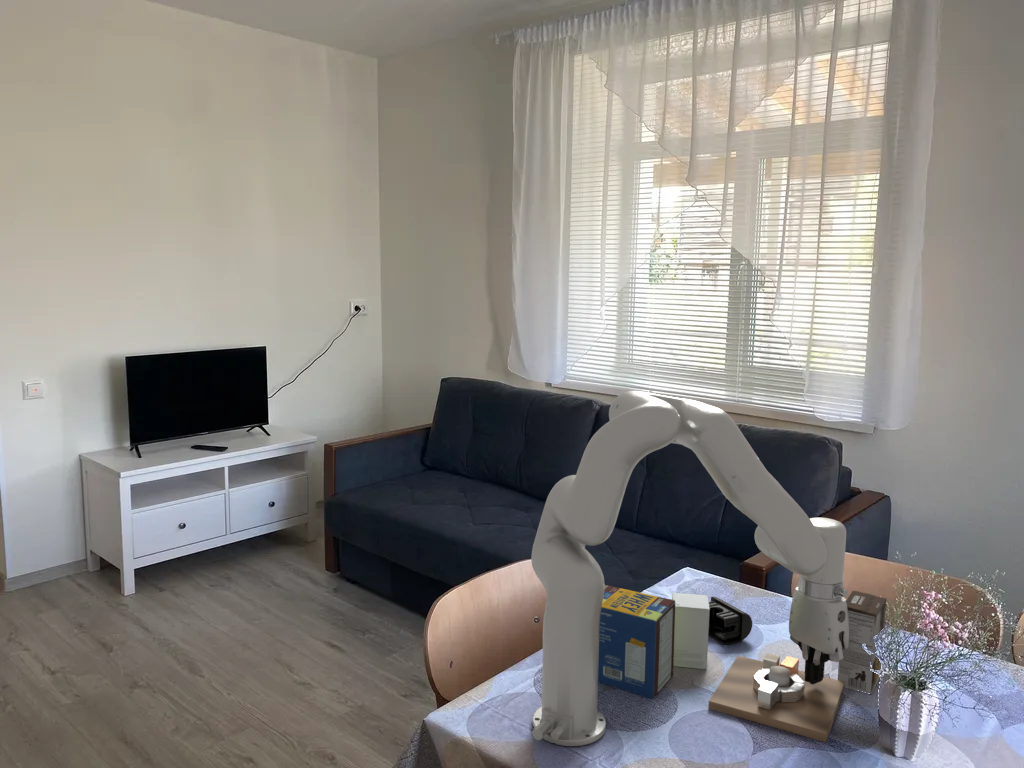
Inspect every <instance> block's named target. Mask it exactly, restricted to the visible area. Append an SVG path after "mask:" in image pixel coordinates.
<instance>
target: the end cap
mask: <svg viewBox="0 0 1024 768" xmlns="http://www.w3.org/2000/svg"><path fill="white" fill-rule="evenodd" d="M709 608H710V611H709V631H708V638H710V639H712V640H714V641H715V642H717V643H719V644H720V645H722V646H723V647H728V646H733V645H736V644H740V643H742V642H743V641H744V640H745V639H747V637H749V635H750V634H751V631H752V629H753V620H752V617H751V616H750V615H749V614H748V613H747V612H744V611H743V610H741V609H739V608H737V607H735V606H734V605H732V604H730V603H728V602H727V601H726V600H723V599H721V598H719V597H717V596H710V601H709Z"/></svg>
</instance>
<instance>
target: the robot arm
mask: <svg viewBox="0 0 1024 768" xmlns="http://www.w3.org/2000/svg"><path fill="white" fill-rule="evenodd" d="M608 419H609V421H608V422H606V423H605V424H603V425H602V426H601V427H600V428H599V429H598V430H597V431H596V432H595V433H594V434H593V435H592V437H591V438H590V440H589V441H588V443H587V444H586V447H585V449H584V451H583V455H582V457H581V459H580V462H579V465H578V468H577V471H576V474H571V475H567V476H565V477H563V478H561V479H560V480H559V481H558V482H556V483H555V484H554V486H553V487H552V489H551V490H550V492H548V495H547V498H546V500H545V504H544V507H543V510H542V513H541V516H540V521H539V524H538V528H537V532H536V534H535V537H534V540H533V541H534V542H533V543H532V544H533V545H532V549H531V550H532V551H531V557H530V559H531V566H532V569H533V571H534V573H535V575H536V578H538V580H539V581H540V583H541V584H542V586H543V587H544V589H545V592H546V601H545V602H546V603H545V608H544V612H543V613H544V614H543V622H542V669H541V671H542V673H541V674H542V676H541V677H542V678H541V681H542V682H541V690H542V691H541V706H539V708H537V709H536V711H534V713H533V715H532V727H533V726H534V728H533V730H532V736H533V738H534V739H535V740H537V741H541V740H542V739H543V740H544V741H547V742H549V743H551V744H554V743H555V745H557V746H558V745H559V746H563V747H580V746H585V745H590V744H592V743H595V742H597V741H598V740H599V739H601V738H602V737H603V735H604V734H605V732H606V729H607V728H606V727H607V719H606V717H605V715H604V714H603V713H602V712H601V710H599V709H598V698H599V697H598V695H599V694H598V693H599V690H598V689H599V683H598V662H599V624H600V613H601V607H602V602H603V596H604V588H605V585H606V584H605V576H604V574H603V571H602V568H601V566H600V565H599V563H598V561H596V558H595V557H594V556H593V555H592V554H591V553H590V552H589V551H588V550H587V549H586V546H598V545H601V544H603V543H605V542H606V541H607V540H608V539H609V538H610V537H611V534H613V531H614V530H615V529H614V528H615V525H616V523H617V520H618V516H619V512H620V509H621V506H622V503H623V499H624V495H625V492H626V489H627V486H628V483H629V481H630V478H631V475H632V473H633V470H634V469H635V467H636V465H637V464H638V463H639V462H640V461H642V459H644V458H645V457H646V456H647V455H649V454H650V453H653V452H655V451H658V450H660V449H663V448H664V447H667V446H668V445H670V444H674V445H675V444H676V445H681V446H683V447H685V448H688V449H690V450H691V451H692V452H693V453H694V454H695V455H696V457H697V458H698V460H699V461H700V463H701V464H702V466H703V467H704V468H705V470H706V471H707V472H708V475H710V476H711V478H712V480H713V481H714V483H715V485H716V486H717V487H718V489H719V490H720V491H721V494H722V496H724V497H725V498H726V499H727V500H728V501H729V502H730V503H731V504H732V506H734V507H735V508H736V509H737V510H738V511H740V512H741V513H742V514H743V515H745V516H747V517H748V519H750V520H752V522H754V523H755V524H756V525H757V526H756V528H755V531H754V541H755V542H754V543H755V544H756V546H757V548H758V550H759V551H760V552H761V553H762V554H764V555H765V556H767V557H768V558H770V559H772V560H773V561H774V562H777V563H778V564H780V565H781V566H783V567H784V568H786V569H787V570H788V571H790V572H792V573H794V574H795V575H798V583H797V585H798V586H796V587H795V589H794V592H793V596H792V601H791V604H790V609H789V617H788V632H789V636H790V637H789V638H790V639H789V640H791V642H793V643H794V644H795V645H797V646H798V647H799V649H800V651H801V654H802V656H801V657H802V658H803V659H804V672H805V681H807V682H809V683H810V684H812V685H813V684H816V683H818V682H821V681H822V680H823V677H825V676H824V675H825V664H826V663H827V662H828V661H830V662H835V663H839V662H840V661H842V660H843V652H842V650H846V649H847V648H848V644H849V617H848V608H847V602H846V600H847V598H846V597H847V596H848V594H849V593H848V590H847V589H845V588H844V571H845V557H846V545H847V529H846V527H845V525H844V524H843V523H842V522H841V521H838V520H836V519H833V518H828V517H818V516H817V517H809V516H808V514H807V513H806V512H805V510H803V508H802V507H801V506H800V505H799V504H798V502H796V501H795V499H794V498H793V497H792V496H791V495H790V494H789V493H788V491H786V489H784V488H783V486H782V484H780V482H779V481H778V480H776V478H775V477H774V476H773V475H772V474H771V473H770V472H769V471H768V470H767V469H766V467H765V466H764V464H763V463H762V461H761V460H760V458H759V457H758V455H757V453H756V452H755V451H754V448H752V446H751V444H750V443H749V442H748V439H746V437H745V436H744V434H743V432H742V430H741V429H740V428H739V426H738V424H737V423H736V422H735V420H734V419H733V418H732V417H731V415H729V414H728V413H727V412H726V411H724V410H723V409H721V408H720V407H718V406H717V407H716V406H713V405H711V404H708V403H706V402H702V401H699V400H694V399H688V398H680V397H675V396H674V397H673V396H668V395H662V394H658V393H657V394H656V393H652V392H646V391H641V390H640V391H639V390H628V391H624V392H622V393H620V394H619V395H617V397H615V398H614V399H613V401H612V402H611V405H610V406H609V409H608Z"/></svg>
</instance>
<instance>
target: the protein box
mask: <svg viewBox="0 0 1024 768" xmlns="http://www.w3.org/2000/svg"><path fill="white" fill-rule="evenodd" d="M674 630H675V600H672V598H671V599H670V598H666V597H662V596H661V597H660V596H656V595H652V594H648V593H643V592H640V591H639V592H638V591H634V590H631V589H626V588H621V587H617V586H614V585H613V586H612V585H608V584H605V588H604V596H603V602H602V607H601V613H600V624H599V662H598V682H599V683H598V684H601V683H602V685H605V686H608V687H611V688H615V689H619V690H621V691H624V692H629V693H632V694H635V695H638V696H641V697H645V698H649V699H652V700H654V699H655V698H656V697H657V696H658V695H659V693H660V692H661V691H662V690H663V688H665V686H666V685H667V683H669V681H670V680H671V678H672V677H673V676H674V666H673V662H674Z"/></svg>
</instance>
